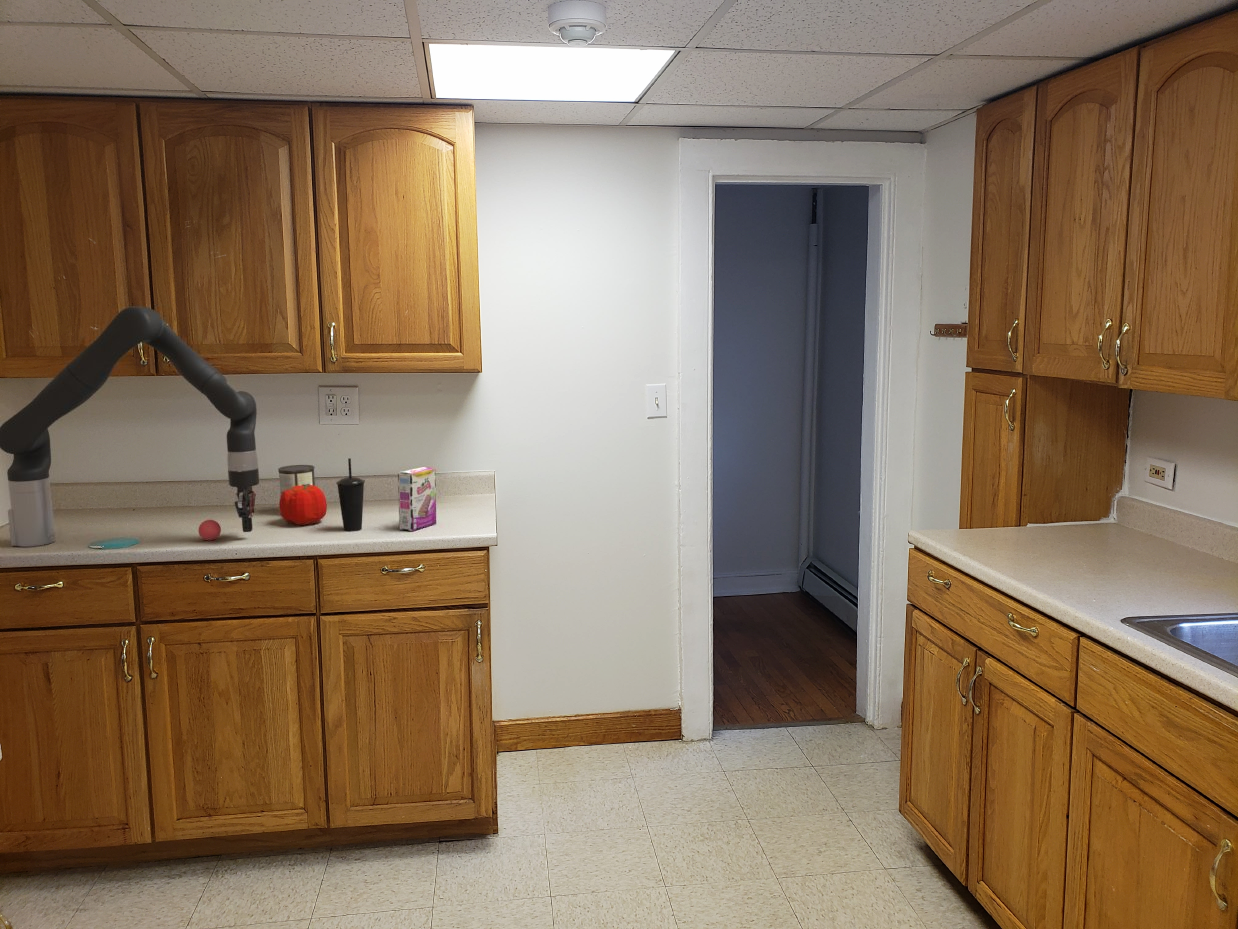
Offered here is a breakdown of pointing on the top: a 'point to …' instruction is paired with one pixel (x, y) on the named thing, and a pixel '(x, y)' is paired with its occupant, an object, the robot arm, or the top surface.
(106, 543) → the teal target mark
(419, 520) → the candy bar box
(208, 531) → the ball
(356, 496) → the drinking cup
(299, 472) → the coffee can
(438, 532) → the top surface
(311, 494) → the tomato
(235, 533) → the top surface
